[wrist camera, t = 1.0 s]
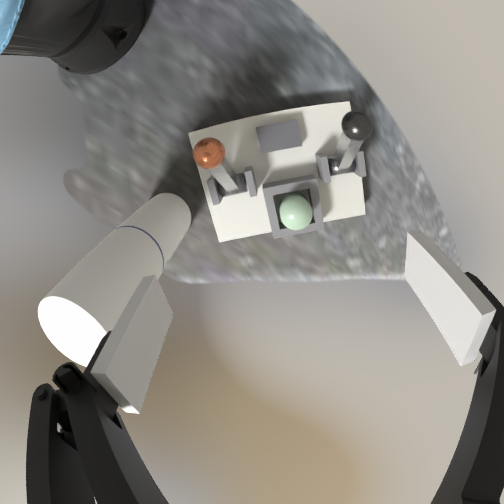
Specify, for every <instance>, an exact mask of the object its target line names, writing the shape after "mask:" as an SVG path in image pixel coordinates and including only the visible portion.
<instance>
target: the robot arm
mask: <svg viewBox="0 0 504 504" xmlns="http://www.w3.org/2000/svg"><path fill="white" fill-rule="evenodd" d="M144 16H145V11H144V5H143V2H142V0H0V55H22V56H37V57H48V58H50V59H51V60H53V61H54V62H55V63H57V64H58V65H59V66H60V67H62V68H63V69H64V70H66V71H69V72H71V73H77V74H93V73H97V72H100V71H102V70H104V69H106V68H108V67H110V66H111V65H113V64H114V63H116V62H117V61H118V60H119V59H120V58H122V57H123V56H124V55H125V54H126V53H127V51H128V50H129V49H130V48H131V46H132V45H133V44H134V42H135V41H136V39H137V37H138V35H139V33H140V31H141V29H142V26H143V22H144ZM404 278H405V279H406V280H407V282H408V283H409V285H410V286H411V287H412V289H413V290H414V292H415V293H416V295H417V296H418V298H419V299H420V300H421V302H422V304H423V305H424V306H425V308H426V310H427V311H428V313H429V314H430V316H431V317H432V319H433V320H434V322H435V324H436V325H437V327H438V328H439V330H440V331H441V333H442V335H443V337H444V338H445V340H446V341H447V343H448V345H449V347H450V348H451V350H452V352H453V354H454V355H455V357H456V359H457V361H458V362H459V364H460V366H463V365H465V364H467V363H470V362H472V361H474V360H475V358H476V356H477V354H478V352H479V351H480V353H481V354H482V356H483V357H482V359H481V361H480V362H479V365H478V366H477V368H476V370H475V372H474V374H476V373H477V371H478V370H479V371H478V377H477V381H476V385H475V390H474V393H473V397H472V401H471V405H470V409H469V413H468V416H467V419H466V422H465V425H464V429H463V431H462V434H461V437H460V440H459V443H458V446H457V448H456V451H455V453H454V456H453V458H452V460H451V463H450V465H449V468H448V470H447V472H446V474H445V476H444V478H443V481H442V483H441V485H440V487H439V489H438V491H437V493H436V495H435V497H434V498H433V501H432V502H431V504H500V496H501V493H502V490H503V488H504V307H503V305H502V304H501V303H500V302H499V301H498V300H497V298H496V297H495V296H494V295H493V294H492V293H491V292H490V291H488V288H487V287H486V286H485V285H483V283H482V282H481V281H480V280H479V279H478V278H477V277H476V276H474V275H473V274H471V273H469V272H466V273H464V272H463V271H462V270H461V269H460V268H459V267H458V266H457V265H456V264H455V263H454V262H453V261H452V260H451V259H450V258H449V257H448V256H447V255H446V254H445V253H444V252H443V251H442V250H441V249H440V248H439V247H438V246H437V245H436V244H435V243H433V242H432V241H431V240H430V239H429V238H428V237H427V236H426V235H425V234H424V233H423V232H422V231H420V230H416V231H411V232H408V233H407V251H406V264H405V274H404ZM172 318H173V313H172V310H171V309H170V306H169V304H168V302H167V300H166V297H165V295H164V293H163V290H162V288H161V286H160V284H159V281H158V279H157V277H156V275H151V276H145V277H143V278H142V280H141V282H140V283H139V285H138V287H137V288H136V290H135V292H134V293H133V295H132V297H131V298H130V300H129V302H128V304H127V305H126V307H125V309H124V310H123V312H122V314H121V316H120V317H119V319H118V321H117V323H116V325H115V326H114V328H113V330H112V331H109V332H108V333H107V334H106V335H105V336H104V337H103V338H102V339H101V341H100V343H99V345H98V348H97V349H96V350H95V352H94V353H95V354H93V356H92V358H91V360H90V362H89V364H88V365H87V367H86V369H85V371H84V373H82V372H81V371H80V370H79V368H78V367H77V366H76V365H75V364H74V363H72V362H68V363H65V364H63V365H61V366H60V367H58V369H57V370H56V371H55V373H54V375H53V382H54V383H55V384H56V385H57V386H58V387H59V388H60V390H55V389H54V388H53V387H52V386H51V385H50V384H48V383H46V384H42V385H40V386H39V387H38V388H37V389H36V390H35V392H34V394H33V397H32V403H31V410H30V418H29V427H28V438H27V455H26V487H27V488H26V489H27V504H95V499H96V501H97V504H169V503H168V502H167V500H166V499H165V497H164V496H163V495H162V493H161V491H160V489H159V488H158V486H157V485H156V483H155V481H154V480H153V478H152V476H151V475H150V473H149V471H148V470H147V468H146V466H145V464H144V463H143V461H142V459H141V457H140V455H139V453H138V452H137V450H136V448H135V446H134V444H133V442H132V440H131V438H130V436H129V434H128V432H127V430H126V427H125V425H124V423H123V421H122V419H121V416H120V415H119V413H118V412H117V411H116V410H117V408H118V405H119V406H120V407H121V408H122V409H123V410H124V411H125V412H129V413H138V414H140V412H141V409H142V405H143V402H144V399H145V396H146V393H147V390H148V387H149V384H150V381H151V378H152V374H153V372H154V369H155V366H156V363H157V360H158V357H159V354H160V351H161V348H162V346H163V343H164V340H165V337H166V334H167V331H168V329H169V326H170V323H171V321H172ZM57 426H59V427H60V433H59V432H58V431H57ZM94 497H95V499H94Z"/></svg>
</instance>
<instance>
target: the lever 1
mask: <svg viewBox="0 0 504 504" xmlns="http://www.w3.org/2000/svg"><path fill="white" fill-rule="evenodd" d="M193 158H194V161H195V162H196V164H197V165H198V166H200V167H201V168H204V169H207V170H208V171H209V172H210V173H211V174H212V175H213V176H214V178H215V179H216V180H217V181H218V185H219V190H220V193H221V195H222V197H227V196H232V195H236V194H241V193H245V192H248V187H247V182H246V178H245V174H244V172H243V173H238V174H236V173H235V172H234V170H233V168H232V167H231V165H230V164H229V162H228V161H227V159H226V158H225V148H224V145H223V144H222V143H221V142H220V141H219V140H218V139H215V138H211V137H208V138H204V139H201V140H200V141H199V142H198V143H197V144H196V145H195V147H194V149H193Z"/></svg>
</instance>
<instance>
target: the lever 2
mask: <svg viewBox="0 0 504 504" xmlns="http://www.w3.org/2000/svg"><path fill="white" fill-rule="evenodd" d="M341 127H342V133H341V136H340V139H339V142H338V145H337V148H336V151H335V154H334V155H333V156H327V159H328V165H329V171H330V176H335V175H341V174H347V173H354V172H355V162H354V158H355V156H356V154H357V153H358V151H359V149H360V147H361V145H362V143H363V141H364V140H365V139H367V138H368V137H369V136H370V135H371V133H372V130H373V125H372V121H371V119H370V117H369V116H368V115H367V114H365V113H364V112H362V111H358V110H353V111H350V112H348V113H346V114H345V115H344V117H343V118H342V122H341Z"/></svg>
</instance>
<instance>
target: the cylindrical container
mask: <svg viewBox="0 0 504 504" xmlns="http://www.w3.org/2000/svg"><path fill="white" fill-rule="evenodd" d="M190 225H191V212H190V209H189V207H188V205H187V204H186V202H185V201H184V200H183V199H182V198H180V197H179V196H177V195H175V194H172V193H161V194H158V195H156V196H154V197H153V198H151V199H150V200H149V201H148V202H147V203H145V204H144V205H143V206H142V207H140V208H139V209H138V210H137V211H136V212H134V213H133V214H132V215H131V216H130V217H128V218H127V219H126V220H125V221H124V222H122V223H121V224H120V225H119V226H118V227H117V228H115V229H114V230H113V231H112V232H111V233H110V234H109V235H108V236H106V237H105V238H104V239H103V240H102V241H101V242H100V243H99V244H98V245H97V246H96V247H94V248H93V249H92V250H91V251H90V252H89V253H88V254H87V255H86V256H85V257H84V258H83V259H82V260H81V261H80V262H79V263H78V264H77V265H76V266H75V267H74V268H73V269H71V271H69V272H68V273H67V275H65V276H64V277H63V278H62V280H61V281H60V282H59V283H58V284H57V285H56V286H55V287H54V288H53V289H52V290H51V291H50V292H49V293H48V294H47V295H46V296H45V297H44V299H43V300H42V301H41V302H40V304H39V307H38V317H39V320H40V323H41V326H42V328H43V330H44V332H45V334H46V335H47V337H48V338H49V340H50V341H51V342H52V343H53V344H54V345H55V347H56V348H57V349H58V350H59V351H61V352H62V353H63V354H64V355H65V356H67V357H68V358H70V359H71V360H73V361H75V362H77V363H78V364H80V365H83V366H85V367H87V365H88V364H89V362H90V360H91V358H92V356H93V354H95V353H94V352H95V350H96V349H97V348H98V345H99V343H100V341H101V339H102V338H103V337H104V336H105V335H106V334H107V333H108V332H109V331H112V330H113V328H114V326H115V325H116V323H117V321H118V319H119V317H120V316H121V314H122V312H123V310H124V309H125V307H126V305H127V304H128V302H129V300H130V298H131V297H132V295H133V293H134V292H135V290H136V288H137V287H138V285H139V283H140V282H141V280H142V278H143V277H145V276H151V275H156V277H157V279H159V277H160V276H161V274H162V272H163V270H164V269H165V267H166V265H167V264H168V262H169V260H170V259H171V257H172V255H173V254H174V252H175V250H176V249H177V247H178V245H179V244H180V242H181V240H182V239H183V237H184V236H185V234H186V232H187V231H188V229H189V227H190Z"/></svg>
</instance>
